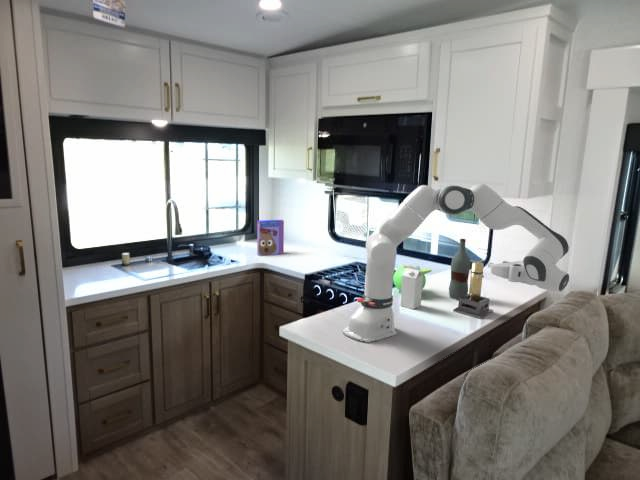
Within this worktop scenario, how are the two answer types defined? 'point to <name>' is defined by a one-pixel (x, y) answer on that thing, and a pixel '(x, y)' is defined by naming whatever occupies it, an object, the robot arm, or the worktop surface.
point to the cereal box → (270, 237)
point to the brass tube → (476, 282)
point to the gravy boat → (399, 272)
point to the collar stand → (479, 312)
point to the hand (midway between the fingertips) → (496, 263)
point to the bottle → (459, 273)
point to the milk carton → (411, 287)
